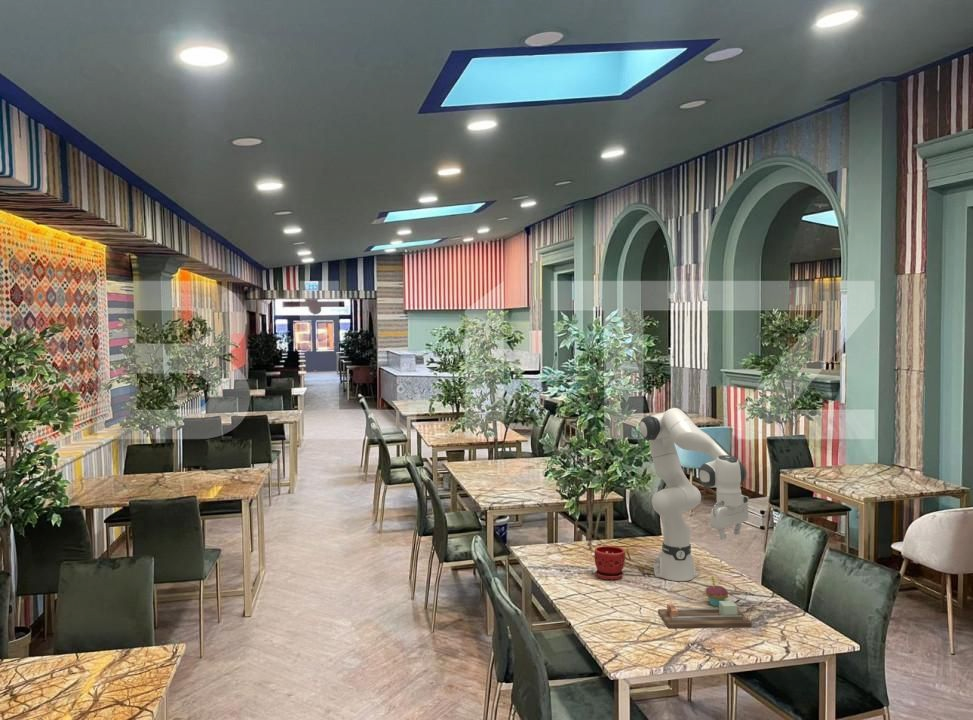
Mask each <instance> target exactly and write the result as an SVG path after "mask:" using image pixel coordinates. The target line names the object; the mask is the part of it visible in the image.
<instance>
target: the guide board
mask: <svg viewBox="0 0 973 720" xmlns="http://www.w3.org/2000/svg"><path fill="white" fill-rule="evenodd" d="M657 613H658V615H659V616H660V618H661V620H662V621H663V623H664V624H665V626H666V627H667V628H668V629H706V628H707V629H710V628H711V629H713V628H752V627H753V623H752V622H751V620H750V619H749V618H748V617H747V616H745V614H743V612H742V611H741V610H740V609H739V608H738V607H737V615H726V616H721V615H720V614H719V607H715V608H714V607H713V608H712V607H710V608H677V607H676V606H675V605H674V604H673V603H672V602H671V603H666V608H663V609H658V610H657Z"/></svg>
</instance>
